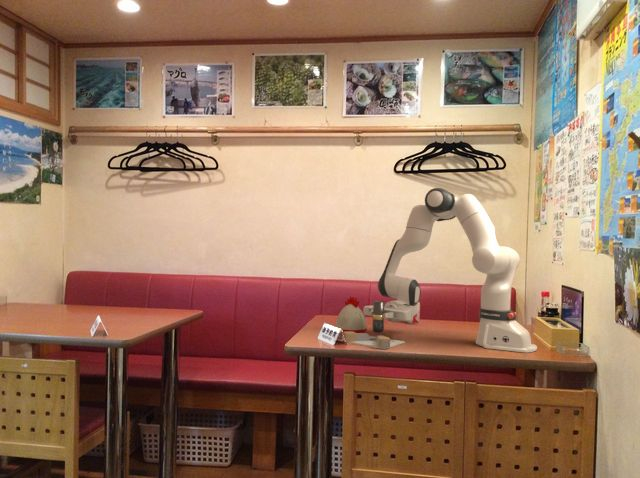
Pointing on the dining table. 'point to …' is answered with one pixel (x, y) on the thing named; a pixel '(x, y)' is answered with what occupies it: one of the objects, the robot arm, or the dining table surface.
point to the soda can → (415, 317)
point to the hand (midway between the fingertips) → (377, 314)
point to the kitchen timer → (351, 317)
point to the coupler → (378, 316)
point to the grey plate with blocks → (370, 340)
